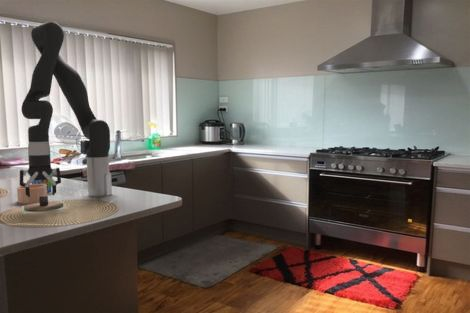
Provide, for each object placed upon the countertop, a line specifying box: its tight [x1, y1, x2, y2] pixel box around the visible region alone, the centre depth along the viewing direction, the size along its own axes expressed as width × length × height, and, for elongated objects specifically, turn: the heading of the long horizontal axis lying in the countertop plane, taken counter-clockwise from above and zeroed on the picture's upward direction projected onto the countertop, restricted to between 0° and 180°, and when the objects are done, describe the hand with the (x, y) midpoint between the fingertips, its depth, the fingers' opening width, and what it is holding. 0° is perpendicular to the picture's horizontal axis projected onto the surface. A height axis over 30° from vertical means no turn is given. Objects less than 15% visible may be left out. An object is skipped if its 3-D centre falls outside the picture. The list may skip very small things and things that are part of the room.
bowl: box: [16, 183, 48, 205], centre depth 171 cm, size 11×11×6 cm
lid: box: [24, 194, 63, 212], centre depth 159 cm, size 14×14×4 cm
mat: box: [21, 200, 68, 215], centre depth 159 cm, size 15×15×1 cm
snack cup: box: [29, 171, 55, 193], centre depth 192 cm, size 16×10×10 cm
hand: (41, 195), depth 159 cm, fingers open, 8 cm apart
